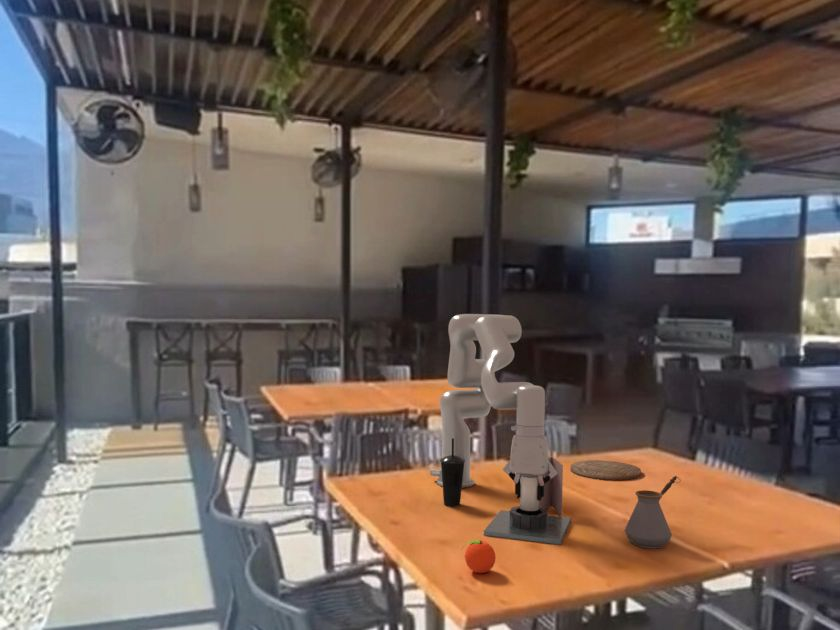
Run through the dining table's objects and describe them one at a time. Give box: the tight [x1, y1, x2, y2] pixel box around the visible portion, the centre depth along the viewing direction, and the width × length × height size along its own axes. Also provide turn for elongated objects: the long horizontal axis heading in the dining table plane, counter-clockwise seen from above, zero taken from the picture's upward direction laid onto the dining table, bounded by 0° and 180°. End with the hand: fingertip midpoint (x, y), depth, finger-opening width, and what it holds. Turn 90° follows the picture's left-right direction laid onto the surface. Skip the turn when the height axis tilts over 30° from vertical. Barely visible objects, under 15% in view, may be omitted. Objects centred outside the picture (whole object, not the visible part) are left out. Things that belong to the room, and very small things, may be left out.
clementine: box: [461, 540, 497, 574], centre depth 159 cm, size 8×7×7 cm
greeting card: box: [539, 456, 564, 517], centre depth 206 cm, size 11×7×15 cm, turn 150°
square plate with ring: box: [483, 505, 572, 546], centre depth 190 cm, size 20×20×5 cm
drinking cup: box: [439, 438, 465, 508], centre depth 212 cm, size 8×8×20 cm
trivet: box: [570, 459, 642, 482], centre depth 257 cm, size 25×25×2 cm
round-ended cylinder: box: [519, 474, 539, 511], centre depth 190 cm, size 5×5×10 cm
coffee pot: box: [624, 475, 682, 549], centre depth 183 cm, size 21×12×15 cm, turn 134°
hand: (529, 497), depth 190 cm, fingers closed on round-ended cylinder, 4 cm apart
